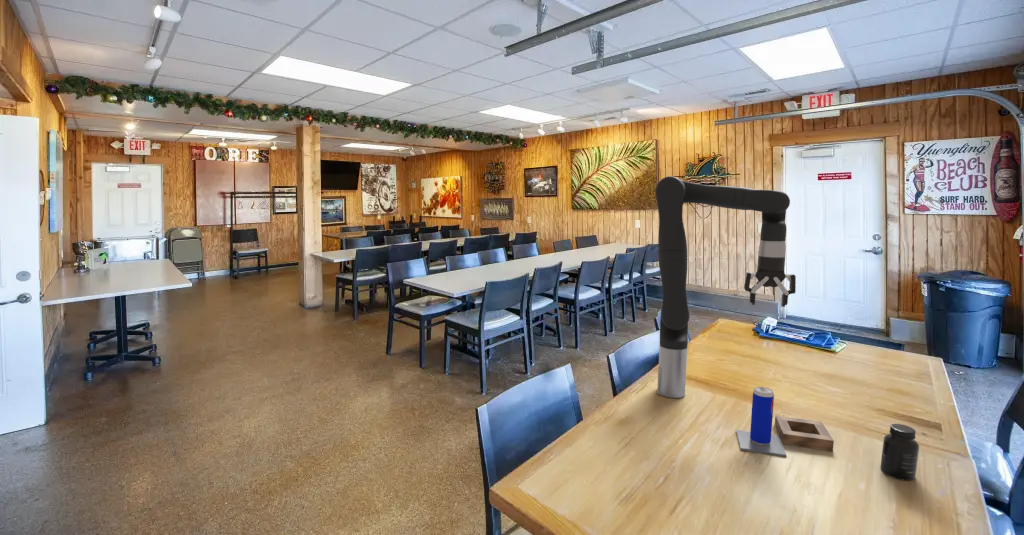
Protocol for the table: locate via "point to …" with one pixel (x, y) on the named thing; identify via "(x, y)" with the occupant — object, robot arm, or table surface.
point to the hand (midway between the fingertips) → (768, 305)
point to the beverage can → (762, 415)
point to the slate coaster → (748, 445)
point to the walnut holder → (790, 437)
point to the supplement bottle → (900, 452)
